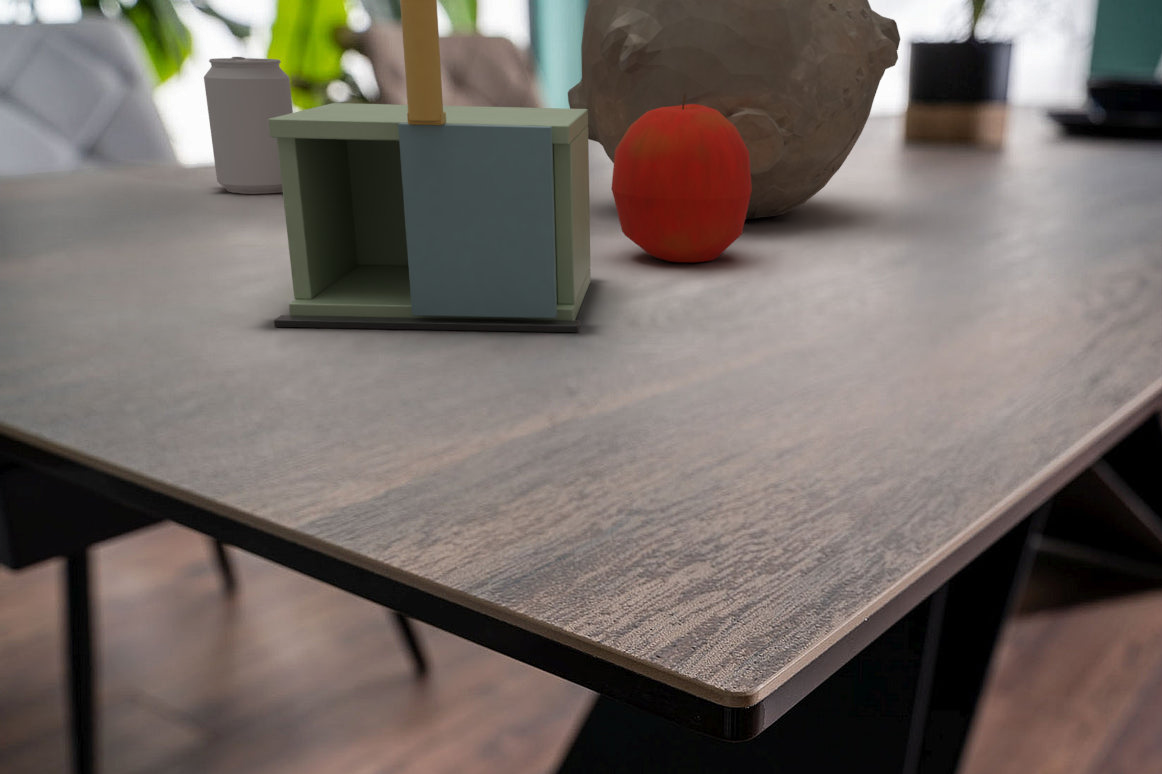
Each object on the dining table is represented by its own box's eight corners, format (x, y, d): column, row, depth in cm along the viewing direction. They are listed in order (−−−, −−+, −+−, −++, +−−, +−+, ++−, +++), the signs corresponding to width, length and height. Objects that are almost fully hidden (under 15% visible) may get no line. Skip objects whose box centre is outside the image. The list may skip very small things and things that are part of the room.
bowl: (882, 247, 94) (902, -30, 86) (532, 229, 97) (523, -37, 90) (890, 198, 119) (906, -19, 111) (612, 186, 122) (609, -25, 115)
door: (408, 319, 65) (377, -93, 58) (415, 312, 67) (386, -90, 59) (554, 322, 65) (542, -89, 58) (557, 314, 67) (546, -86, 60)
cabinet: (274, 327, 66) (250, 120, 62) (342, 277, 78) (325, 102, 74) (577, 332, 66) (573, 128, 62) (596, 282, 79) (594, 109, 75)
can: (241, 197, 109) (224, 59, 105) (204, 188, 114) (186, 56, 110) (315, 190, 114) (302, 58, 110) (277, 182, 119) (263, 55, 115)
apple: (664, 240, 94) (665, 87, 90) (775, 255, 89) (782, 94, 85) (585, 260, 86) (582, 92, 82) (703, 277, 81) (706, 100, 77)
